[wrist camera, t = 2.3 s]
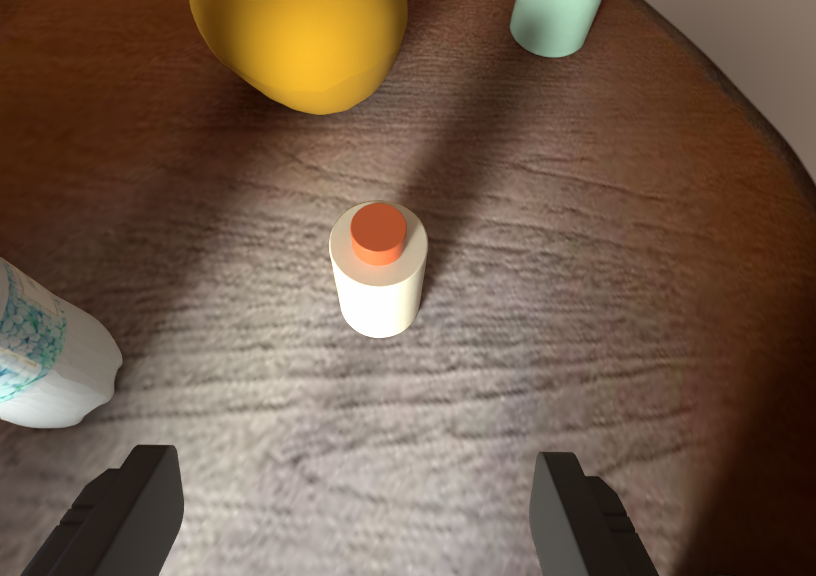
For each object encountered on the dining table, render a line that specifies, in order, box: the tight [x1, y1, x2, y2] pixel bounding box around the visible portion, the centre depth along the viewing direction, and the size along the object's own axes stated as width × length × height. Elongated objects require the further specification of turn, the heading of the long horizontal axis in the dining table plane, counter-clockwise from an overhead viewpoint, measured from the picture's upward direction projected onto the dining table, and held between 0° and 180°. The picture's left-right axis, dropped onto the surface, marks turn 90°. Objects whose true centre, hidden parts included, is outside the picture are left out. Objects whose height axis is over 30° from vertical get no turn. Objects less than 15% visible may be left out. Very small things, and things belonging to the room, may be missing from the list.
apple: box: [189, 0, 407, 115], centre depth 35 cm, size 13×13×11 cm
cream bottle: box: [329, 200, 428, 338], centre depth 30 cm, size 5×5×9 cm
